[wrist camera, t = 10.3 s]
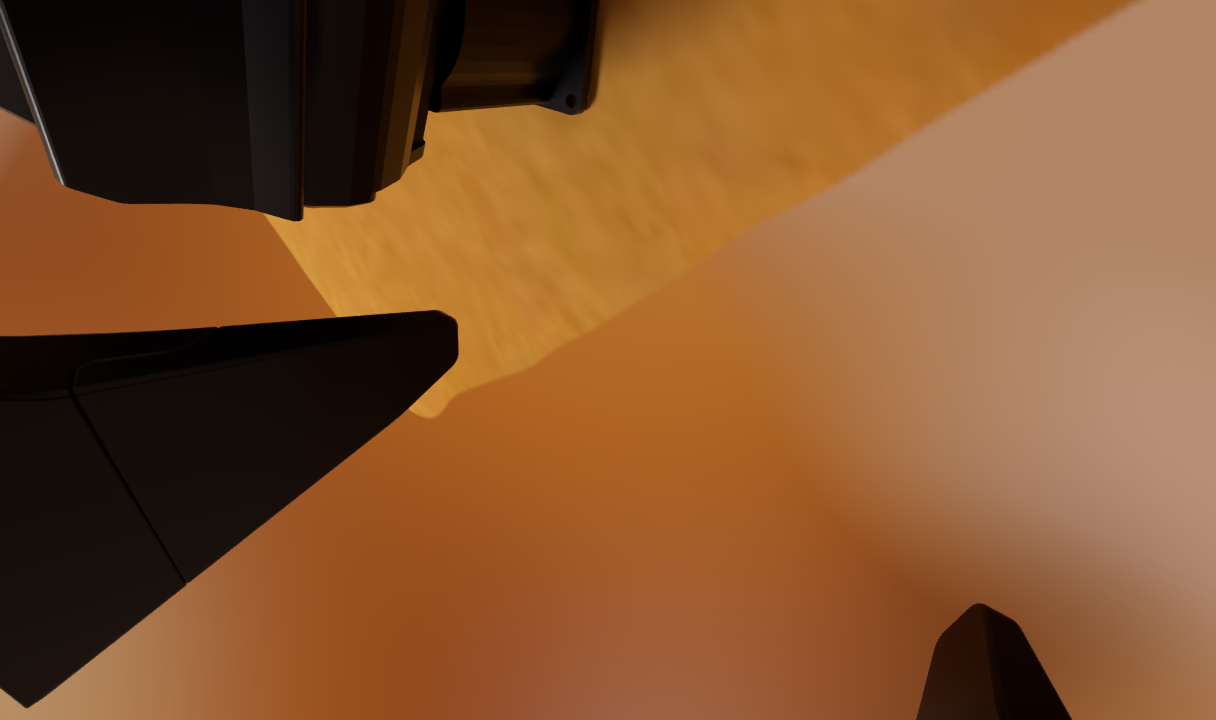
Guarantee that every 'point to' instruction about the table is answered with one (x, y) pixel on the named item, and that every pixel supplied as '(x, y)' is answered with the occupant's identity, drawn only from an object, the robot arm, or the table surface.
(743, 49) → the table surface
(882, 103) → the table surface
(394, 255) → the table surface
